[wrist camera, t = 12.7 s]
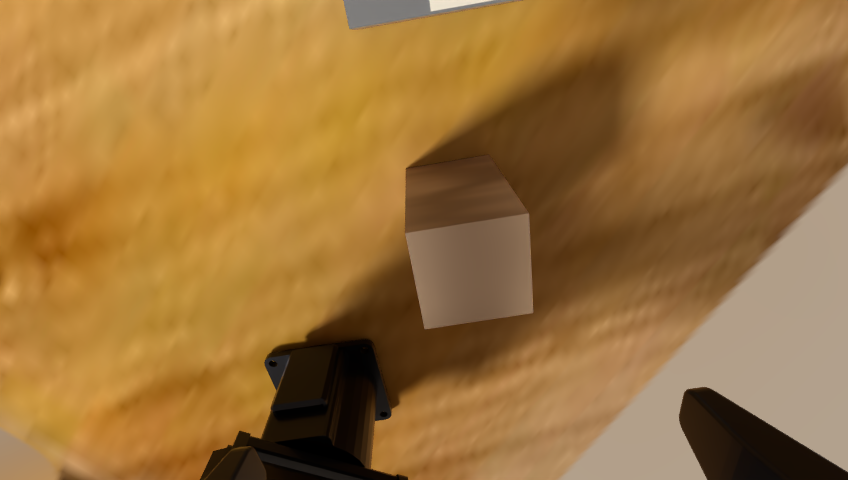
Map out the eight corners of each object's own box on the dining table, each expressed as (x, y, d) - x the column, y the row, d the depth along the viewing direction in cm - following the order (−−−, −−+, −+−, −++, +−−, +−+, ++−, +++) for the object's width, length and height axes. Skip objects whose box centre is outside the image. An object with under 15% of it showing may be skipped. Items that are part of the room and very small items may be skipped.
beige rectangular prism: (489, 154, 19) (529, 213, 13) (495, 229, 21) (533, 312, 15) (405, 168, 19) (405, 233, 13) (419, 241, 21) (424, 329, 15)
